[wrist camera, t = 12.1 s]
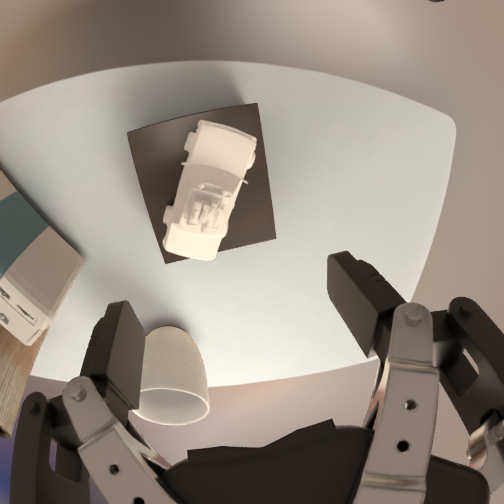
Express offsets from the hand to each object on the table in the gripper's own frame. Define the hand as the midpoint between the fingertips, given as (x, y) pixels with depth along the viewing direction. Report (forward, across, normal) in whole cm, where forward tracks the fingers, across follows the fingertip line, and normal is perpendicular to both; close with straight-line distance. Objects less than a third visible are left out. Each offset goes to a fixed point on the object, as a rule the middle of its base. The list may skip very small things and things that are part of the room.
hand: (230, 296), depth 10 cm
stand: (+23, 0, 0) cm, 23 cm away
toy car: (+17, 0, 0) cm, 17 cm away
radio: (+23, +26, -1) cm, 35 cm away
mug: (+23, +12, +25) cm, 36 cm away
